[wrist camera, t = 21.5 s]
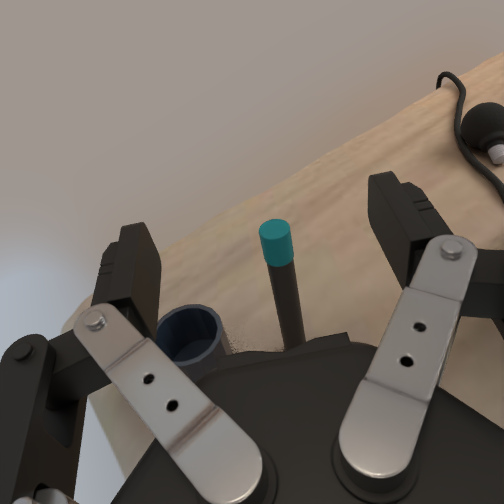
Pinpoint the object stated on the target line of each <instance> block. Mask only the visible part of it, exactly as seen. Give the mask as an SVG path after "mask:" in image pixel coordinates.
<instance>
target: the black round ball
mask: <svg viewBox="0 0 504 504" xmlns="http://www.w3.org/2000/svg"><path fill="white" fill-rule="evenodd" d="M461 134H462V136H463V138H464V140H465V141H466V142H467V143H468V144H469V145H471V146H473V147H476V148H480V149H481V151H483V152H488V153H489V155H490V157H491V160H492V162H493V164H501V163H504V107H503V106H502V105H500V104H497V103H493V102H487V103H481V104H479V105H476V106H475V107H473V108H472V109H470V110H469V111H468V112H467V113H466V115H465V116H464V118H463V120H462V123H461Z"/></svg>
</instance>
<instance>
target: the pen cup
mask: <svg viewBox="0 0 504 504" xmlns="http://www.w3.org/2000/svg"><path fill="white" fill-rule="evenodd" d="M154 343H155V344H156V345H157V346H158V347H159V348H160V349H161V350H162V351H163V352H164V353H165V354H166V355H167V357H168V358H169V359H170V360H171V361H172V362H173V363H174V364H175V365H176V366H177V367H178V368H179V369H180V370H181V371H182V372H183V373H184V374H185V375H186V376H187V377H188V378H189V379H190V380H191V381H192V382H193V383H195V382H196V381H197V380H198V379H199V378H200V377H202V376H203V375H204V374H206V373H207V372H209V371H211V370H212V369H214V368H217V357H220V356H225V355H230V354H233V352H232V349H231V346H230V343H229V341H228V338H227V335H226V332H225V330H224V327H223V324H222V321H221V319H220V316H219V315H218V314H217V313H216V312H215V311H214V310H213V309H212V308H209V307H207V306H204V305H201V304H190V305H184V306H181V307H178V308H175V309H173V310H171V311H170V312H169V313H167V314H166V315H164V316H163V317H162V318H161V319H160V320H159V321H158V323H157V335H156V342H154Z"/></svg>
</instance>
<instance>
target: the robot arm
mask: <svg viewBox="0 0 504 504" xmlns="http://www.w3.org/2000/svg"><path fill="white" fill-rule="evenodd" d="M444 77H448V78H449V79H451V80H452V81H453V82H454V83H455V85H456V86H457V87H458V89H459V91H460V96H459V99H458V102H457V107H456V114H455V120H454V130H455V135H456V139H457V142H458V145H459V147H460V149H461V150H462V152H463V154H464V155H465V157H466V158H467V159H468V161H469V162H470V163H471V164H472V165H473V166H474V167H475V168H476V169H477V170H478V171H479V172H481V173H482V174H483V175H484V176H485V177H486V178H487V179H488V180H489V181H490V182H491V183H492V184H493V185H494V186H495V187H496V189H497V190H498V192H499V194H500V195H501V198H502V200H503V202H504V184H503V183H502V182H501V181H500V180H499V179H498V178H497V177H496V176H495V175H494V174H493V173H492V172H491V171H490V170H489V169H487V168H486V167H485V166H484V165H483V164H481V163H480V162H479V161H478V160H477V159H476V157H475V156H474V155H473V154H472V152H471V151H470V149H469V148H468V146H467V145H466V143H465V140H464V138H463V136H462V134H461V124H460V123H461V115H462V108H463V103H464V100H465V96H466V89H465V87H464V85H463V84H462V82H461V81H460V80H459V79H458V78H457V77H456V76H455V75H454V74H452V73H450V72H442V73H441V74H440V75H439V76H438V78H437V83H436V90H437V89H438V88H440V87H441V83H442V79H443V78H444ZM368 217H369V222H370V225H371V228H372V230H373V232H374V234H375V236H376V238H377V240H378V242H379V244H380V246H381V248H382V250H383V252H384V254H385V256H386V258H387V260H388V262H389V264H390V266H391V268H392V270H393V272H394V274H395V276H396V278H397V280H398V282H399V284H400V286H401V288H402V290H403V292H402V294H401V296H400V298H399V301H398V303H397V305H396V307H395V310H394V312H393V314H392V317H391V319H390V321H389V323H388V326H387V328H386V330H385V333H384V335H383V337H382V339H381V342H380V344H379V346H378V347H375V346H372V345H369V344H365V343H360V342H350V340H349V337H348V334H347V332H344V333H339V334H334V335H329V336H323V337H318V338H314V339H312V340H309V341H307V342H305V343H303V344H300V345H298V346H296V347H294V348H291V349H289V350H287V351H284V352H264V351H246V352H240V353H235V354H230V355H225V356H220V357H217V368H214V369H212V370H211V371H209V372H207V373H206V374H204V375H203V376H202V377H200V378H199V379H198V380H197V381H196V382H195V383H193V382H192V381H191V380H190V379H189V378H188V377H187V376H186V375H185V374H184V373H183V372H182V371H181V370H180V369H179V368H178V367H177V366H176V365H175V364H174V363H173V362H172V361H171V360H170V359H169V358H168V357H167V355H166V354H165V353H164V352H163V351H162V350H161V349H160V348H159V347H158V346H157V345H156V344H155V343H154V342H156V335H157V322H158V309H159V296H160V282H161V260H160V256H159V253H158V251H157V249H156V247H155V244H154V242H153V240H152V238H151V235H150V233H149V231H148V229H147V227H146V225H145V223H144V222H140V223H136V224H130V225H126V226H122V227H121V231H120V237H119V241H118V242H113V243H110V245H109V246H108V248H107V249H106V250H105V252H104V253H103V256H102V260H101V264H100V265H101V267H100V269H99V273H98V275H99V276H98V277H97V282H96V287H95V290H94V295H93V299H92V303H91V307H90V308H88V309H86V310H85V311H84V312H82V313H81V314H80V315H79V317H78V318H77V320H76V321H75V324H74V327H73V329H72V330H70V331H68V332H66V333H64V334H62V335H60V336H57V337H55V338H53V339H51V340H49V341H48V340H47V339H46V338H45V337H44V336H42V335H39V334H31V335H27V336H24V337H22V338H20V339H18V340H17V341H15V342H14V343H13V344H12V345H11V346H10V347H9V348H8V349H7V350H6V351H5V353H4V355H3V356H2V359H1V362H0V504H79V503H77V502H76V501H74V500H73V499H74V491H75V485H76V477H77V470H78V462H79V454H80V447H81V440H82V432H83V426H84V417H85V411H86V402H87V396H88V395H89V394H91V393H93V392H95V391H97V390H99V389H100V388H102V387H104V386H106V385H108V384H110V383H113V384H114V385H115V387H116V388H117V389H118V390H119V392H120V393H121V394H122V395H123V397H124V398H125V399H126V400H127V402H128V403H129V404H130V406H131V407H132V408H133V409H134V411H135V412H136V413H137V414H138V416H139V417H140V418H141V420H142V421H143V422H144V423H145V425H146V426H147V427H148V428H149V430H150V431H151V432H152V434H153V435H154V436H155V439H154V440H153V442H152V443H151V445H150V446H149V448H148V449H147V451H146V452H145V454H144V455H143V457H142V458H141V459H140V461H139V462H138V464H137V465H136V467H135V468H134V470H133V471H132V473H131V474H130V476H129V477H128V478H127V480H126V481H125V483H124V484H123V486H122V487H121V489H120V490H119V492H118V493H117V495H116V496H115V498H114V499H113V500H112V502H111V504H504V429H502V428H501V427H499V426H498V425H496V424H495V423H493V422H492V421H490V420H489V419H487V418H486V417H484V416H483V415H481V414H480V413H478V412H477V411H475V410H474V409H472V408H471V407H469V406H468V405H466V404H465V403H463V402H462V401H460V400H459V399H457V398H456V397H454V396H453V395H451V394H450V393H448V392H447V391H445V390H444V389H442V388H441V387H440V384H441V381H442V378H443V374H444V371H445V367H446V364H447V360H448V357H449V354H450V351H451V348H452V344H453V341H454V338H455V335H456V332H457V328H458V325H459V322H460V319H461V316H467V317H480V318H492V320H493V322H494V324H495V325H496V327H497V329H498V330H499V332H500V334H501V336H502V337H503V339H504V250H485V249H478V248H476V247H475V245H474V244H473V243H472V242H471V241H469V240H468V239H466V238H463V237H461V236H457V235H454V234H453V233H452V231H451V230H450V229H449V227H448V226H447V224H446V223H445V222H444V220H443V219H442V217H441V216H440V215H439V213H438V212H437V210H436V209H434V206H433V205H432V203H431V202H430V201H428V198H427V196H426V195H425V194H424V192H423V191H422V189H420V188H418V187H417V186H415V185H413V184H412V183H410V182H407V183H402V184H401V183H400V182H399V180H398V179H397V177H396V176H395V174H394V173H393V172H392V171H389V172H384V173H379V174H374V175H370V176H369V179H368Z"/></svg>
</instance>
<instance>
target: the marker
mask: <svg viewBox="0 0 504 504" xmlns="http://www.w3.org/2000/svg"><path fill="white" fill-rule="evenodd" d="M259 235H260V240H261V245H262V249H263V254H264V259H265V261H266V262H267V267H268V271H269V276H270V281H271V286H272V290H273V295H274V300H275V304H276V309H277V314H278V319H279V323H280V328H281V333H282V337H283V342H284V347H285V351H287V350H289V349H291V348H294V347H296V346H298V345H300V344H303V343H305V342H306V340H305V334H304V327H303V320H302V314H301V307H300V300H299V294H298V287H297V280H296V274H295V267H294V260H293V257H294V252H293V245H292V238H291V232H290V226H289V224H288V223H287V222H286V221H284V220H281V219H272V220H269V221H266V222H265V223H263V224H262V225H261V226H260V228H259Z"/></svg>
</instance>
